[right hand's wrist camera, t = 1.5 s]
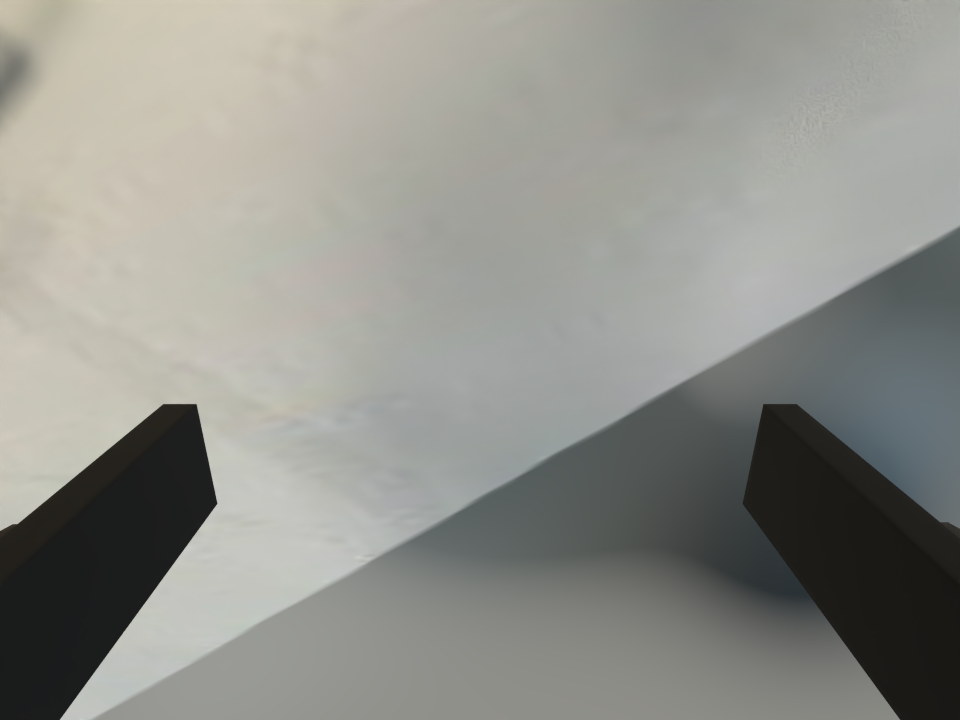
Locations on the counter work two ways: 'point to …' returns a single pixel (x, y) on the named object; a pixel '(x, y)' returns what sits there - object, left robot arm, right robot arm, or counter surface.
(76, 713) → the counter surface
